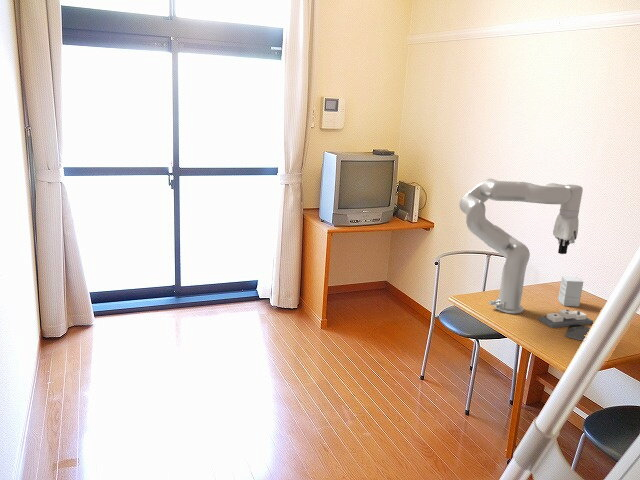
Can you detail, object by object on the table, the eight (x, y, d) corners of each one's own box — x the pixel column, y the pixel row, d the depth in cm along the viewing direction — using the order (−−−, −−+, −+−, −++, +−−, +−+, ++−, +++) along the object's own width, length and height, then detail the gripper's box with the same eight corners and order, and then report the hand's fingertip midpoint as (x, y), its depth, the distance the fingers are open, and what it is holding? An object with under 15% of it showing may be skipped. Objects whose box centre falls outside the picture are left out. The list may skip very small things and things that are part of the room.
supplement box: (573, 301, 241) (577, 276, 238) (579, 307, 234) (584, 281, 231) (557, 300, 242) (561, 275, 238) (563, 305, 235) (567, 280, 231)
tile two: (566, 318, 213) (567, 314, 213) (558, 314, 217) (559, 309, 217) (575, 317, 214) (575, 313, 214) (567, 313, 219) (568, 309, 218)
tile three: (577, 320, 215) (578, 315, 214) (569, 315, 219) (570, 311, 219) (586, 319, 216) (586, 314, 216) (578, 314, 221) (579, 310, 220)
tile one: (553, 322, 212) (554, 317, 211) (546, 317, 216) (547, 313, 216) (563, 321, 213) (563, 316, 212) (555, 317, 217) (556, 312, 217)
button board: (551, 327, 210) (552, 324, 210) (539, 320, 218) (539, 316, 217) (592, 323, 216) (593, 320, 215) (578, 316, 223) (579, 313, 223)
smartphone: (589, 327, 211) (585, 340, 198) (589, 329, 212) (584, 342, 198) (570, 322, 215) (565, 335, 202) (570, 324, 215) (564, 337, 202)
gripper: (549, 209, 224) (543, 249, 229) (574, 217, 210) (567, 258, 215) (563, 209, 226) (557, 248, 231) (589, 216, 212) (581, 258, 217)
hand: (562, 253), depth 223 cm, fingers closed
